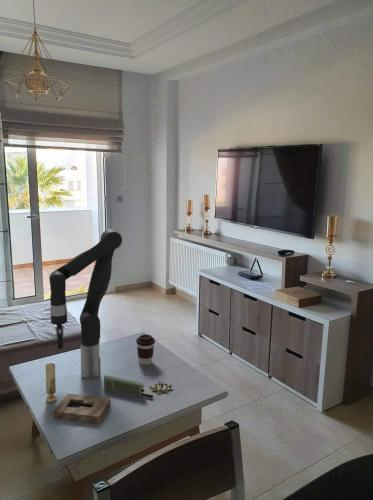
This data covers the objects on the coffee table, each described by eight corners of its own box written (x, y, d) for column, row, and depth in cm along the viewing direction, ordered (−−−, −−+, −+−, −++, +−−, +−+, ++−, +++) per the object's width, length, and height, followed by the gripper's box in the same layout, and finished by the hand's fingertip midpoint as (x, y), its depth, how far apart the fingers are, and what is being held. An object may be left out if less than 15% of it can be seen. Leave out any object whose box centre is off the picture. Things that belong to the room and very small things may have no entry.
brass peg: (56, 397, 183) (55, 362, 180) (56, 402, 179) (55, 366, 176) (45, 398, 181) (44, 363, 178) (46, 403, 177) (45, 368, 174)
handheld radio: (106, 386, 194) (154, 397, 186) (103, 390, 191) (151, 401, 183) (106, 374, 192) (154, 384, 184) (102, 377, 189) (151, 388, 181)
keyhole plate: (53, 418, 167) (52, 411, 166) (67, 399, 181) (67, 393, 180) (99, 423, 164) (99, 416, 164) (110, 404, 178) (110, 398, 177)
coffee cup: (144, 356, 225) (144, 331, 222) (158, 362, 220) (158, 336, 217) (132, 363, 217) (132, 337, 215) (146, 368, 212) (146, 342, 209)
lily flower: (144, 387, 195) (144, 378, 194) (165, 380, 201) (165, 372, 200) (157, 398, 185) (157, 389, 184) (178, 391, 192) (179, 382, 191)
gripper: (67, 316, 186) (69, 350, 188) (66, 307, 199) (67, 338, 202) (50, 318, 183) (52, 352, 186) (50, 309, 197) (51, 340, 199)
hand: (60, 345), depth 194 cm, fingers open, 8 cm apart
